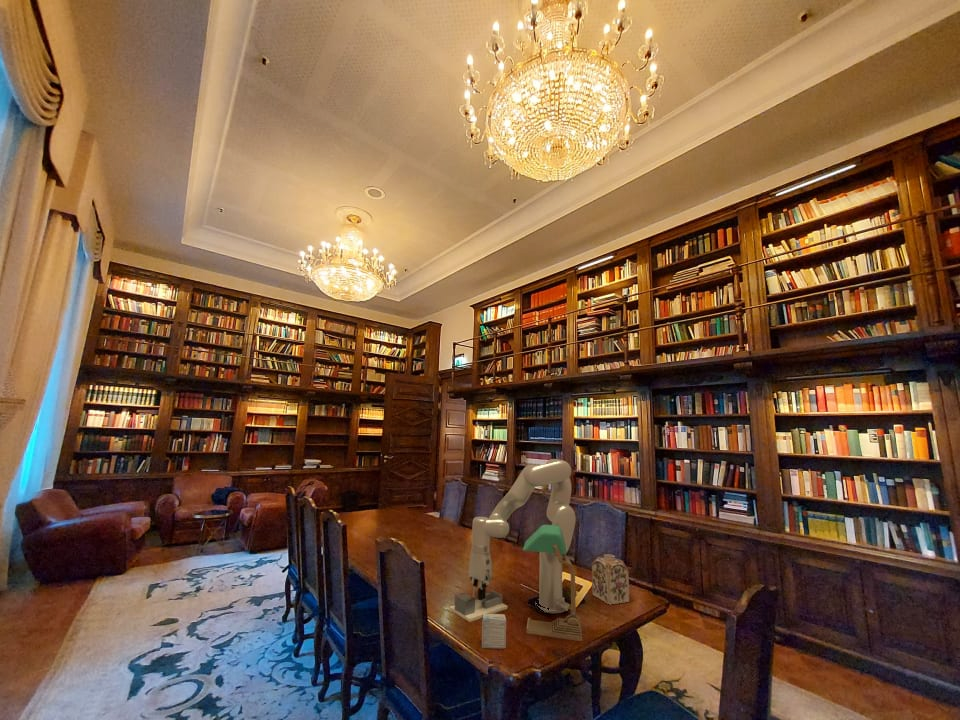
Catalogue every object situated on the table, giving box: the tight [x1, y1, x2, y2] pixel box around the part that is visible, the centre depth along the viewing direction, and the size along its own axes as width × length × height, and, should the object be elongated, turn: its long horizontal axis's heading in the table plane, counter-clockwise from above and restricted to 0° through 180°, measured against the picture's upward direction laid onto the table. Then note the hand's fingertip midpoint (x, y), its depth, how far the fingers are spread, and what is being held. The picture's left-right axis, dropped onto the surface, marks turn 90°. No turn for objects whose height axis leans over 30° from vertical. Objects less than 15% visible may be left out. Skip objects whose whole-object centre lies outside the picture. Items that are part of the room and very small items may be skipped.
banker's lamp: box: [522, 524, 583, 642], centre depth 140 cm, size 16×21×35 cm
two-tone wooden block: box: [471, 583, 486, 609], centre depth 151 cm, size 3×11×7 cm, turn 131°
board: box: [449, 589, 508, 623], centre depth 153 cm, size 13×20×4 cm, turn 131°
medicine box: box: [481, 613, 507, 649], centre depth 126 cm, size 8×4×9 cm, turn 92°
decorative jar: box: [591, 553, 630, 606], centre depth 170 cm, size 12×12×18 cm
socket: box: [454, 592, 475, 616], centre depth 148 cm, size 7×5×5 cm
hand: (478, 597), depth 153 cm, fingers closed on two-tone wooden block, 3 cm apart
